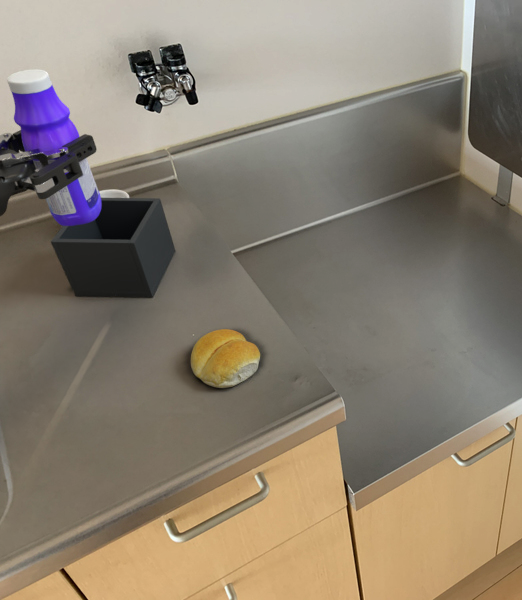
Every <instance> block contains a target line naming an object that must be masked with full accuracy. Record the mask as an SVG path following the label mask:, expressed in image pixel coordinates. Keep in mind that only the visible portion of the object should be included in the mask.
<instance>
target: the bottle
mask: <svg viewBox="0 0 522 600" xmlns="http://www.w3.org/2000/svg"><path fill="white" fill-rule="evenodd" d="M6 82H7V84H8V87H9V90H10V92H11V95H12V98H13V103H14V115H13V121H14V123H15V124H16V125H17V126H18V127H19V128H20V130H21V136H22V142H23V146H24V149H25V152H26V151H30V150H34V149H42V150H43V151H49V150H53V149H57V148H61V147H62V146H64V145H65V144H67V143H69V142H71V141H73V140H75V139H76V138H78V137H80V133H79V131H78V129H77V126H76V125H75V124H74V122H73V121H72V119H71V118H70V114H71V111H70V108H69V107H68V106H67V105H66V104H65V103H64V102H63V101H62V100H61V99H60V98H59V96H58V93H56V90H55V88H54V86H53V82H52V80H51V78H50V75H49V73H48V72H47V71H46V70H44V69H36V68H35V69H24V70H20V71H16V72H14V73H11V74H9V75H8V76H7V78H6ZM57 159H59V157H57V158H53V159H50V160H49V161H48V163H49V164H50V163H52V162H54V161H55V160H57ZM33 162H34V165H35V167H36V169H42V167H41V164H40V162H39V160H37V159H33ZM79 164H80V167H81V170H82V172H83V175H82V176H81V177H80V178H78V179H76V180H75V181H73V182H72V183H70V184H69V185H67V186H66V187H64V188H63V189H61V190H60V191H58V192H56V193H55V194H53V195H52V196H50V197H49V198H46V199H45V201H46V203H47V206H48V208H49V213H50V214H51V216H52V218H53V219H54V220H55V221H56V222H57V224H59V225H60V226H74V225H81V224H86V223H89V222H92V221H94V220H95V219H96V218H97V217H98V216H99V214H100V211H101V206H102V204H101V196H100V193H99V191H100V190H99V188H98V185H97V183H96V180H95V178H94V175H93V172H92V169H91V166H90V163H89V161H88V157H87V158H86V159H84V160H82V161H80V162H79ZM67 173H68V172H67ZM67 173H65V174H67Z"/></svg>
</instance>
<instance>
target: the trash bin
mask: <svg viewBox="0 0 522 600" xmlns="http://www.w3.org/2000/svg"><path fill="white" fill-rule="evenodd" d="M101 204H102V206H101V211H100V214H99V216H98V217H97V218H96V219H95V220H94V221H92V222H89V223H86V224H81V225H74V226H63V225H61V227H60V229H59V230H58V231H57V233H56V234H55V236H53V238H52V239H51V241H50V243H51V246H52V248H53V250H54V252H55V255H56V256H57V259H58V261H59V264H60V266H61V268H62V270H63V273H64V275H65V276H66V279H67V281H68V283H69V286H70V287H71V289H72V291H73V294H74V295H75V297H93V298H94V297H98V298H154V296H155V294H156V292H157V290H158V288H159V286H160V284H161V282H162V279H163V278H164V276H165V273H166V272H167V269H168V268H169V265H170V263H171V262H172V259H173V257H174V256H175V253H176V248H175V244H174V240H173V238H172V234H171V230H170V226H169V224H168V221H167V217H166V214H165V210H164V206H163V203H162V200H161V198H160V197H159V198H158V197H157V198H156V197H154V198H153V197H129V198H101Z"/></svg>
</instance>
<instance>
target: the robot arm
mask: <svg viewBox="0 0 522 600" xmlns="http://www.w3.org/2000/svg"><path fill="white" fill-rule="evenodd" d="M96 152H97V145H96V143H95V140H94V137H93V135H91V134H86V133H84V134H82V135H79V137H78V138H76V139H75V140H73V141H71V142H69V143H67V144H65V145H64V146H62V147H61V148H57V149H53V150H49V151H43V150H42V149H34V150H30V151H26V152H25V149H24V146H23V142H22V136H21V129H19V130H17V131H16V132H13V133H11V132H4V133H2V134H1V135H0V217H2V216H4V214H5V213H6V212H7V210H8V204H9V201H10V198H11V197H13V196H15V195H19V194H21V193H25V192H27V191H32V192H35V194H36V196H37V198H38V200H46V198H49V197H50V196H52V195H53V194H55V193H56V192H58V191H60V190H61V189H63V188H64V187H66V186H67V185H69V184H70V183H72V182H73V181H75V180H76V179H78V178H80V177H81V176H82V175H83V172H82V170H81V167H80V164H79V162H80V161H82V160H84V159H86V158H87V159H88V158H89V157H91V156H93V155H94V154H96ZM57 157H59V159H57V160H55V161H54V162H52V163H50V164H49V163H48V161H49V160H50V159H53V158H57ZM33 159H37V160H39V162H40V164H41V167H42V169H36V167H35V165H34V162H33ZM67 172H68V173H67ZM65 173H67V174H65Z"/></svg>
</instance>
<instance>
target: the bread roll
mask: <svg viewBox="0 0 522 600" xmlns="http://www.w3.org/2000/svg"><path fill="white" fill-rule="evenodd" d="M260 360H261V353H260V349H259V347H258V346H257V345H256V344H255V343H253V342H250V341H247V339H246V338H245V336H244V335H243V334H242V333H240V332H238V331H237V330H233V329H228V328H222V329H216V330H212V331H210V332H207V333H206V334H204V335H203V336H202V337H200V338H199V339H198V340H197V341H196V343H195V344H194V345H193V348H192V351H191V355H190V366H191V370H192V373H193V375H195V377H196V378H198V379H199V380H201V381H202V382H203V383H204V384H206V385H208V386H210V387H214V388H217V389H218V388H219V389H226V388H231V387H235V386H237V385H238V384H240V383H243V382H244V381H246V380H247V379H249V378H250V377H252V376H253V375H254V374H255V373H256V372H257V371H258V370H259V369H258V368H259V362H260Z"/></svg>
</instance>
